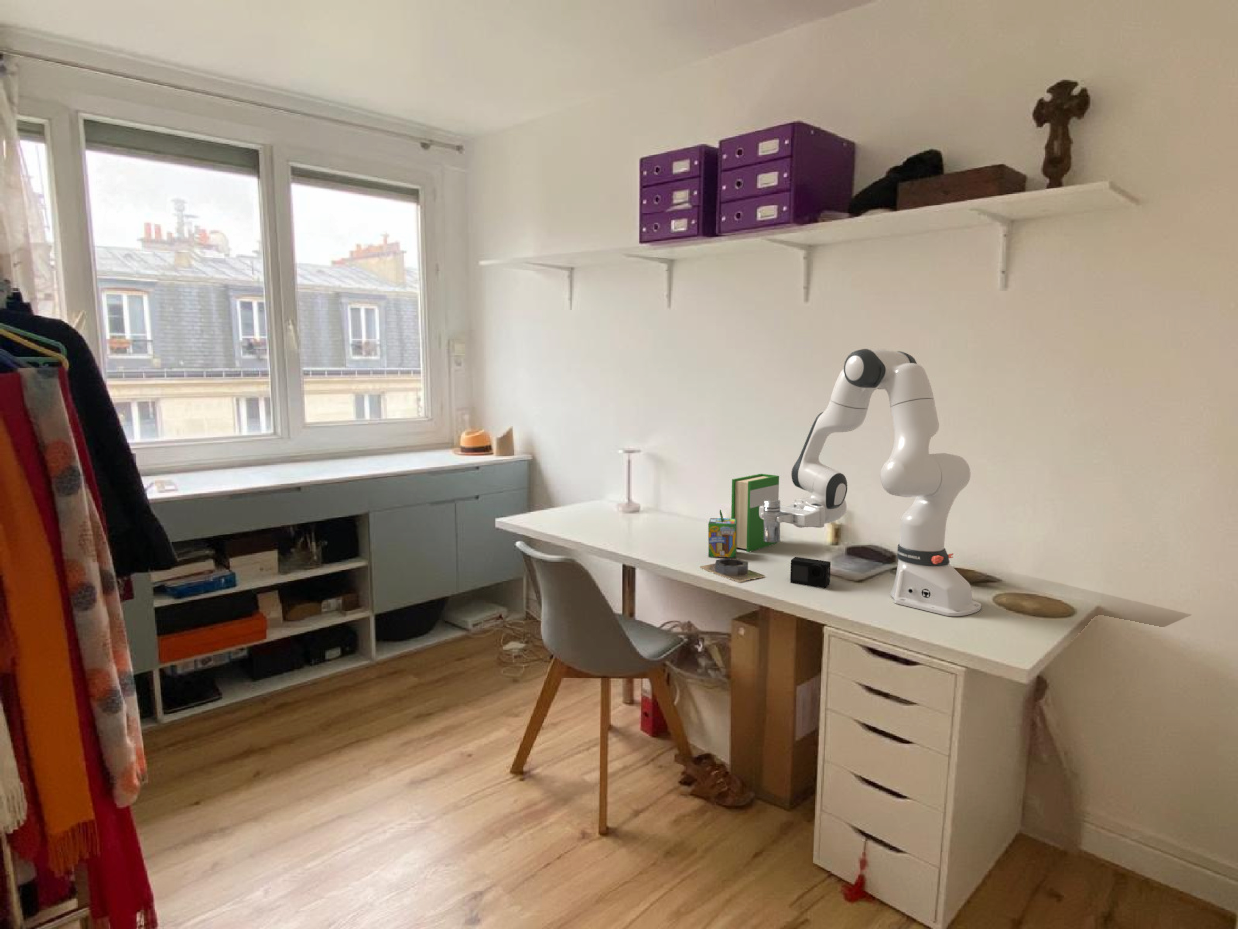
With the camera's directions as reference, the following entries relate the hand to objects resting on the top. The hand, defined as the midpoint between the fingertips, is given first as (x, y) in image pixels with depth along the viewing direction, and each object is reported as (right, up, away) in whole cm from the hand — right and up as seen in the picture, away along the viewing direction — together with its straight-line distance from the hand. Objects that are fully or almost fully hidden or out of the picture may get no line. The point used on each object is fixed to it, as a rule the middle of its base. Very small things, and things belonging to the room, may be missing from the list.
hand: (769, 518), depth 217 cm
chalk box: (-10, -14, +27) cm, 32 cm away
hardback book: (+3, -13, +39) cm, 41 cm away
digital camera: (+10, -19, -6) cm, 22 cm away
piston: (+1, -7, +1) cm, 7 cm away
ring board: (-10, -17, +6) cm, 21 cm away
